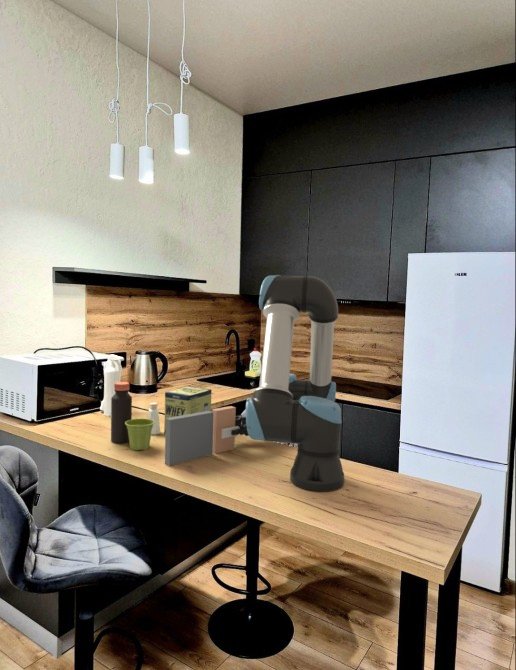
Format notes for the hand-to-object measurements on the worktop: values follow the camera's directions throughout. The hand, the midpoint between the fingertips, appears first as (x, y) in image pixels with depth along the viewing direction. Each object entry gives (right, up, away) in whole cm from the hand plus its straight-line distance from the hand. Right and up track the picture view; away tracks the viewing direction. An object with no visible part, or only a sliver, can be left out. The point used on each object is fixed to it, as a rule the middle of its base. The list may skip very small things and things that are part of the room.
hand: (214, 430), depth 154 cm
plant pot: (-25, -7, +4) cm, 26 cm away
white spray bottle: (-47, -2, +45) cm, 65 cm away
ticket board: (-7, -8, -6) cm, 12 cm away
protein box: (-12, -5, +24) cm, 27 cm away
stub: (+2, -7, +3) cm, 8 cm away
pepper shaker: (-24, -5, +21) cm, 32 cm away
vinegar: (-33, -6, +10) cm, 35 cm away
